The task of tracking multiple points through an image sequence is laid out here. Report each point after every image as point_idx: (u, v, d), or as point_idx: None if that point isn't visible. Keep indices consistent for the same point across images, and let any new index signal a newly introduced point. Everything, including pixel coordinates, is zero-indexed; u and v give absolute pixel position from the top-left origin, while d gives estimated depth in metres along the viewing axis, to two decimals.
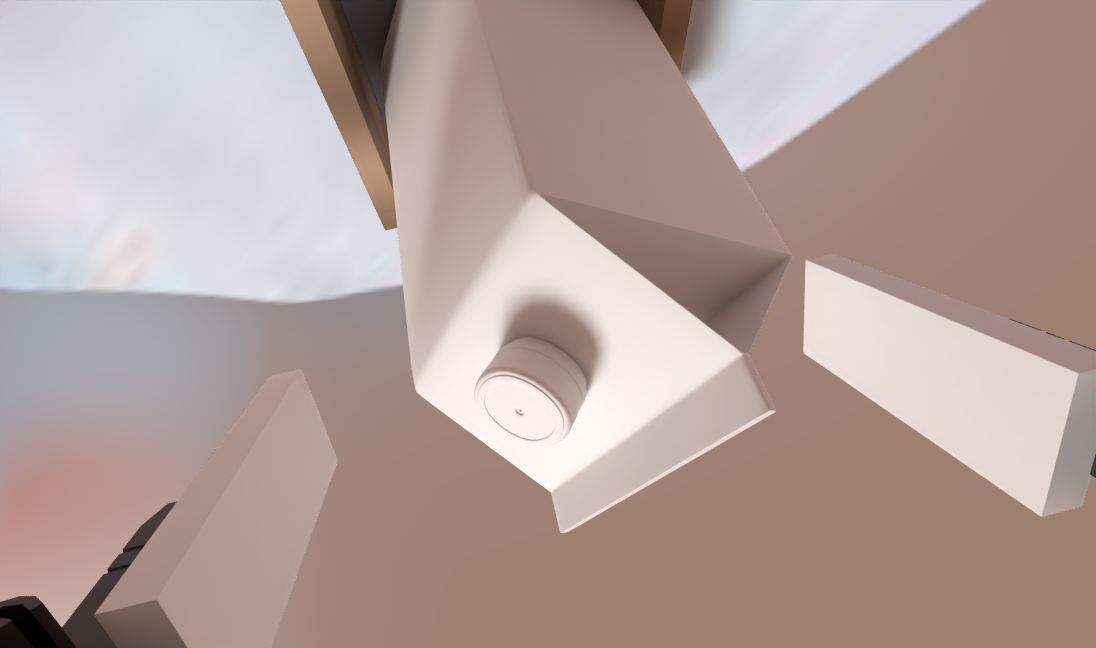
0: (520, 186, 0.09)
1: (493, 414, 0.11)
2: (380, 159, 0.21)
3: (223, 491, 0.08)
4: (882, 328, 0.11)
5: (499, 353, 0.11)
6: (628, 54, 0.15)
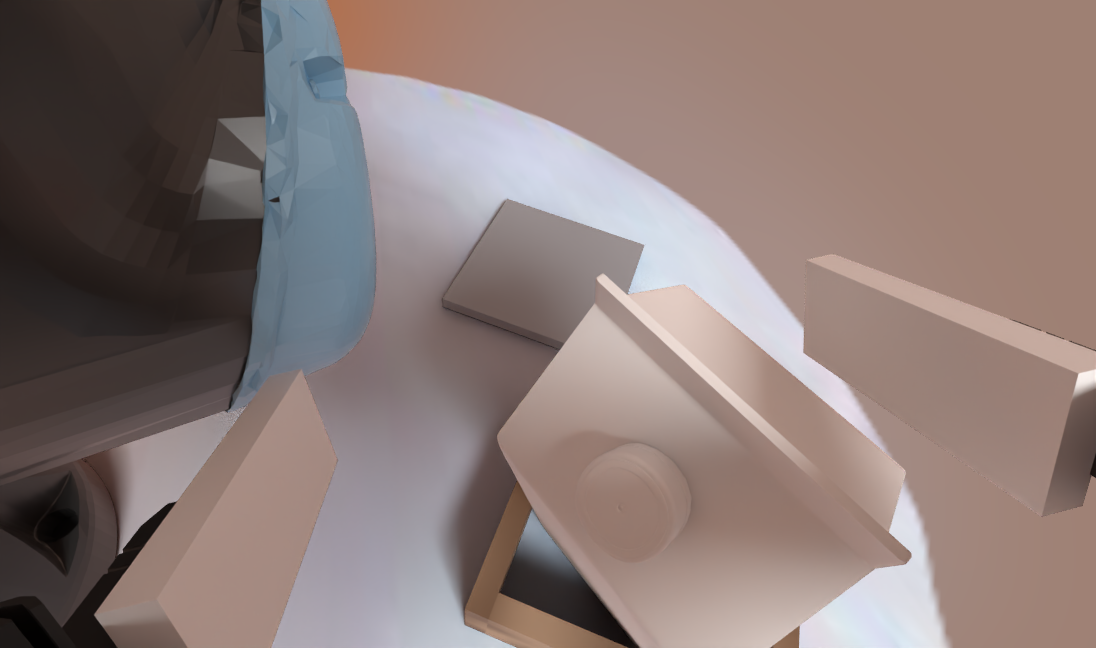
0: (501, 450, 0.14)
1: (631, 544, 0.10)
2: None
3: (223, 491, 0.08)
4: (882, 328, 0.11)
5: None
6: None
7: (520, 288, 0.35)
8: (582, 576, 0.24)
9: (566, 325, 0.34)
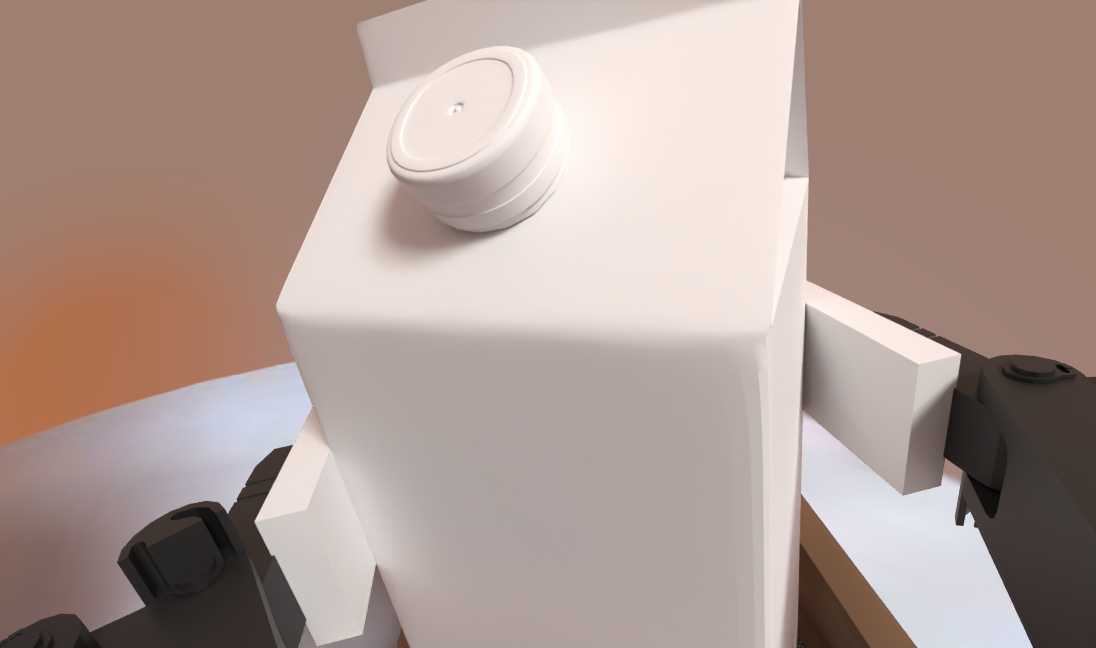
0: (290, 335, 0.08)
1: (488, 124, 0.06)
2: None
3: None
4: None
5: (444, 215, 0.07)
6: None
7: None
8: None
9: None
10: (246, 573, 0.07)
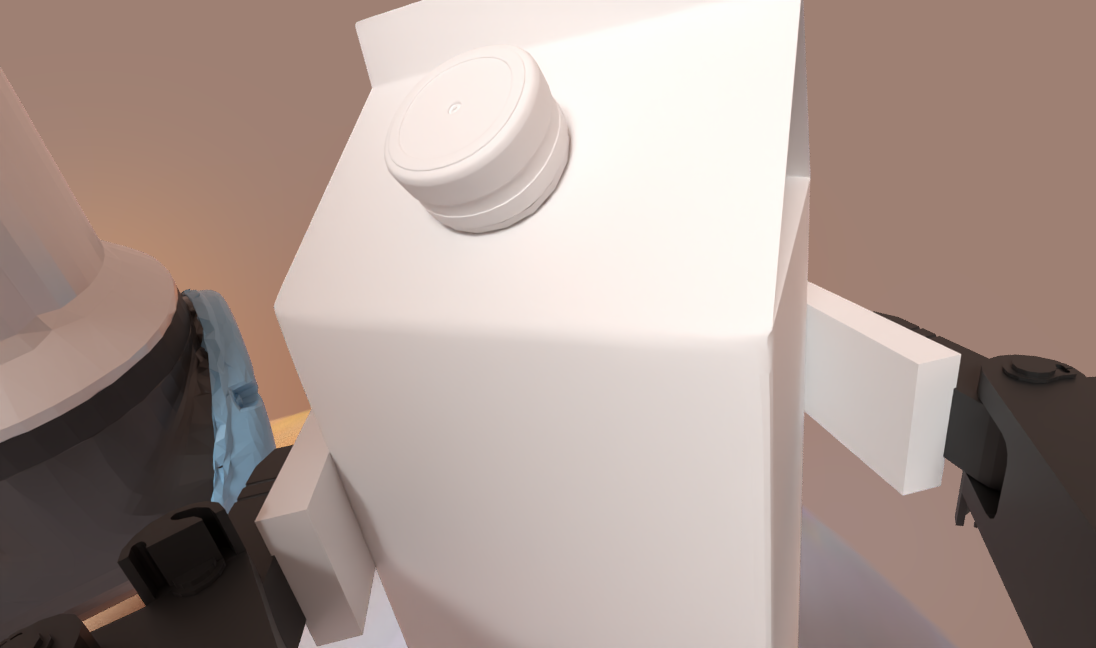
0: (288, 336, 0.08)
1: (486, 123, 0.06)
2: None
3: None
4: None
5: (443, 215, 0.07)
6: None
7: None
8: None
9: None
10: (246, 573, 0.07)
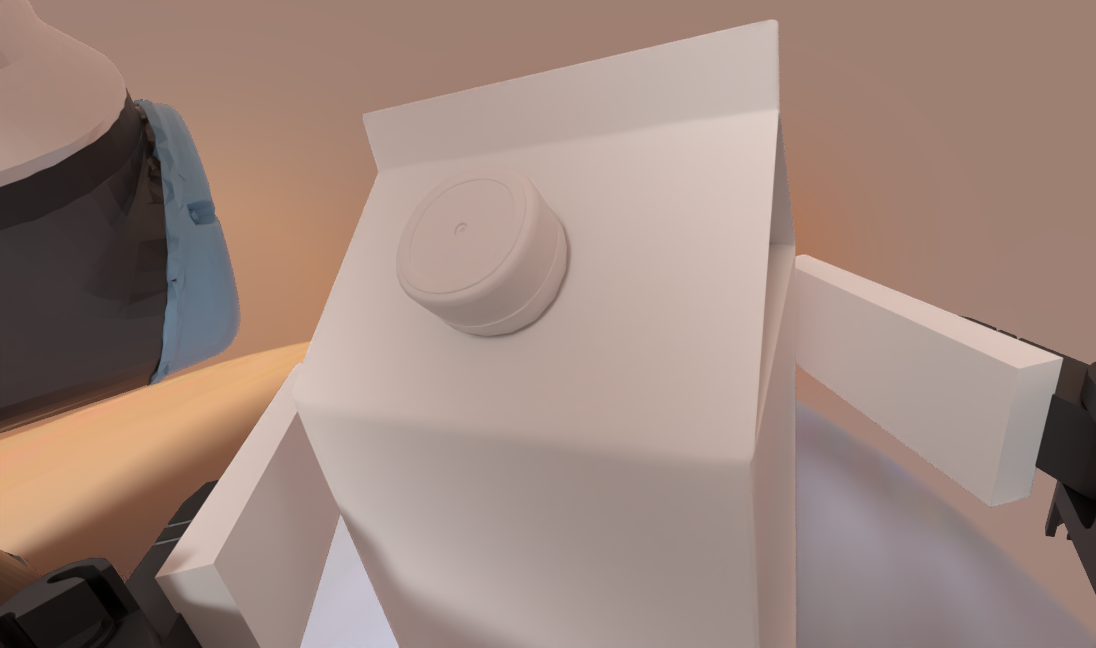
0: (306, 421, 0.09)
1: (491, 251, 0.06)
2: None
3: (264, 468, 0.09)
4: (847, 326, 0.12)
5: (451, 323, 0.07)
6: None
7: None
8: None
9: None
10: (139, 634, 0.06)
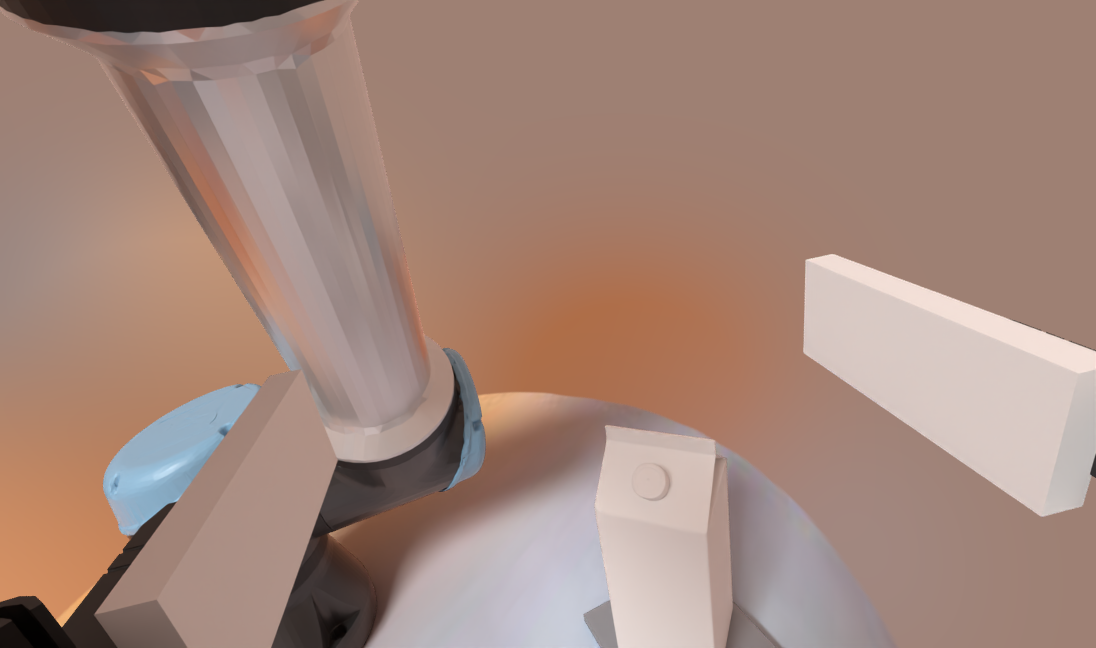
0: (598, 514, 0.34)
1: (656, 488, 0.32)
2: None
3: (223, 491, 0.08)
4: (883, 328, 0.11)
5: (644, 498, 0.32)
6: None
7: None
8: None
9: None
10: None
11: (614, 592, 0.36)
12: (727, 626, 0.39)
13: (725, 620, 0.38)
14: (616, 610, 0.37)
